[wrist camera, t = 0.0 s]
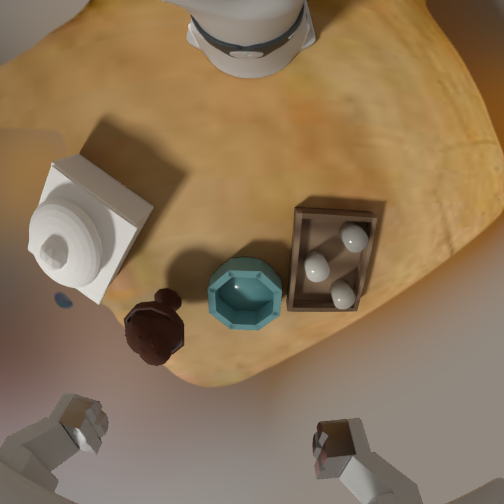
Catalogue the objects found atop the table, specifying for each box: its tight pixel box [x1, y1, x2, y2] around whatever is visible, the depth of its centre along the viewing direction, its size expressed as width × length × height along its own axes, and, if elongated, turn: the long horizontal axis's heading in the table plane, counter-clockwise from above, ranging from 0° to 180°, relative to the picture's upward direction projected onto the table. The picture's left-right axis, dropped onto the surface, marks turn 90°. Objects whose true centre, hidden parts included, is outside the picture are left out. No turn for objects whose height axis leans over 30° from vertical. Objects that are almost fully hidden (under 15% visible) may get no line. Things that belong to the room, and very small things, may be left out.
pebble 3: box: [330, 279, 355, 309], centre depth 49 cm, size 4×4×4 cm
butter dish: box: [28, 154, 154, 304], centre depth 40 cm, size 18×18×16 cm
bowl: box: [207, 257, 282, 330], centre depth 50 cm, size 12×12×5 cm
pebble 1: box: [303, 250, 330, 282], centre depth 47 cm, size 4×4×4 cm
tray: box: [286, 207, 378, 312], centre depth 48 cm, size 18×13×3 cm
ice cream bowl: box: [124, 289, 184, 366], centre depth 47 cm, size 11×11×15 cm
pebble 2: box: [339, 221, 368, 253], centre depth 44 cm, size 4×4×4 cm
